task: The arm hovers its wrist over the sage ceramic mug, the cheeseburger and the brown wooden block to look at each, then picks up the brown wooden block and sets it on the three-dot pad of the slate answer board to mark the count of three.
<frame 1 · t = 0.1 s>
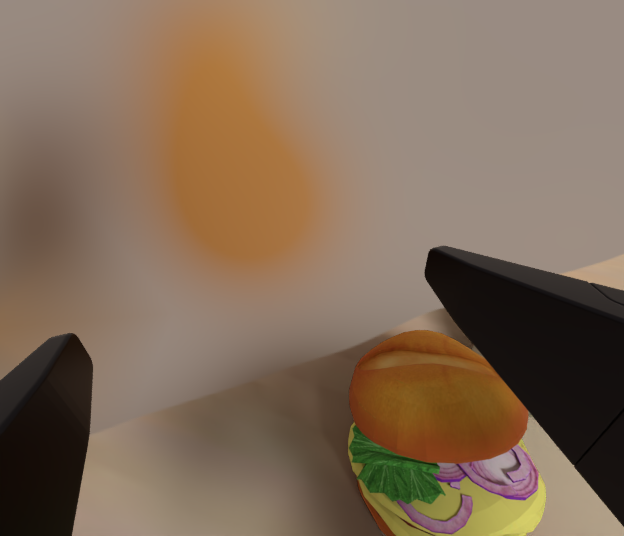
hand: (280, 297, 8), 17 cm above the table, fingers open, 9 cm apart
cheeseburger: (421, 469, 20), on the table
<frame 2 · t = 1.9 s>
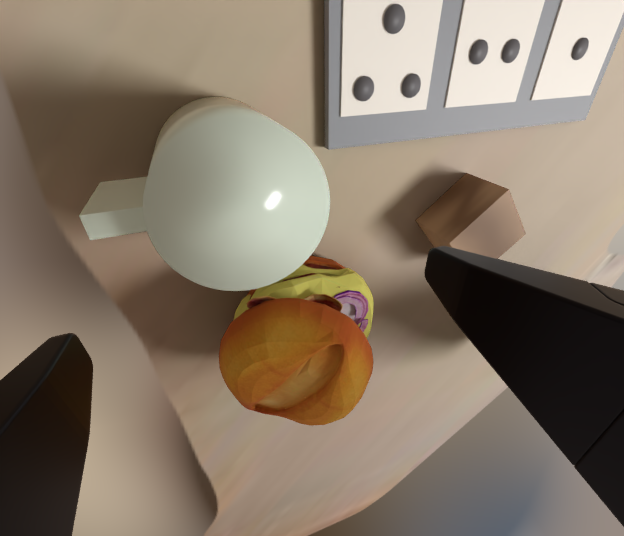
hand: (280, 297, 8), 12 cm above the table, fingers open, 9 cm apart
brown wooden block: (451, 216, 26), on the table
answer board: (485, 52, 19), on the table
mug: (224, 167, 18), on the table
cheeseburger: (290, 304, 25), on the table
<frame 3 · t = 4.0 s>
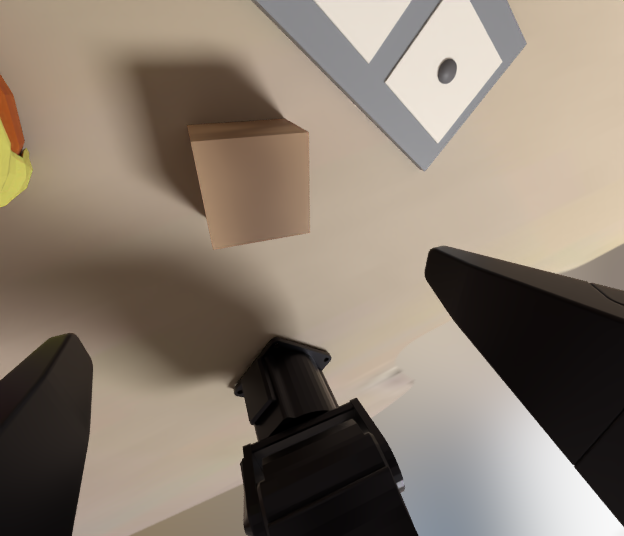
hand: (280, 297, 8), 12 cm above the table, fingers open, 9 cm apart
brown wooden block: (243, 169, 18), on the table
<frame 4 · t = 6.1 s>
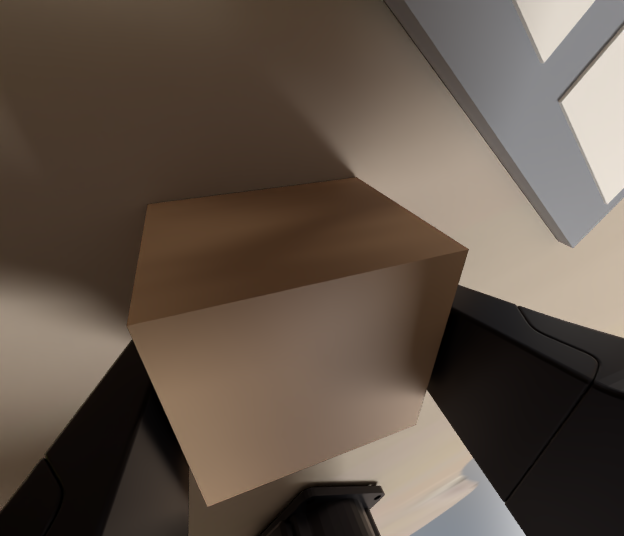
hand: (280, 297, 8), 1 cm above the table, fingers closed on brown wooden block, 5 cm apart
brown wooden block: (270, 275, 9), on the table, touching gripper
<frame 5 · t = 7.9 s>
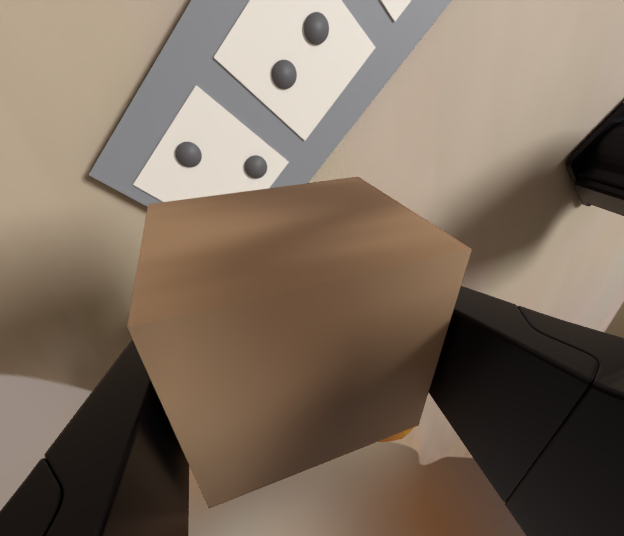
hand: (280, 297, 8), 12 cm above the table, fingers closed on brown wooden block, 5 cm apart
brown wooden block: (271, 275, 9), point 11 cm above the table, touching gripper
answer board: (295, 52, 16), on the table
when the fingers open (3 cm above the table, at t = 9.8 s): brown wooden block drops 1 cm, resting on answer board.
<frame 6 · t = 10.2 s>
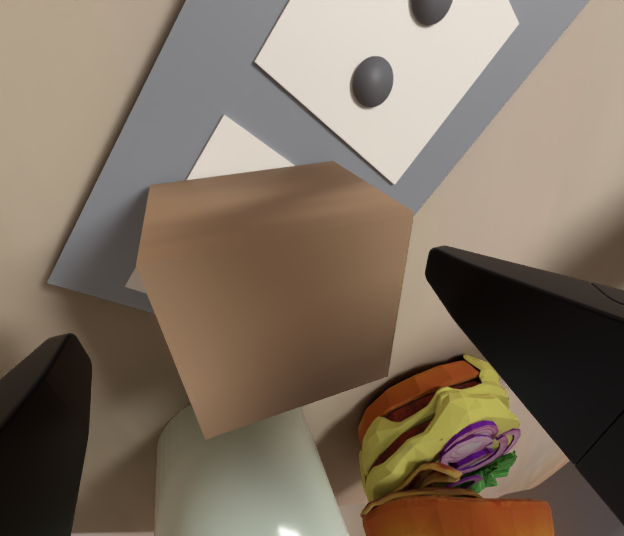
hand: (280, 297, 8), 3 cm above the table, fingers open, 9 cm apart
brown wooden block: (259, 250, 10), point 1 cm above the table, touching answer board
answer board: (386, 41, 9), on the table
mug: (234, 432, 16), on the table
cheeseburger: (407, 406, 21), on the table
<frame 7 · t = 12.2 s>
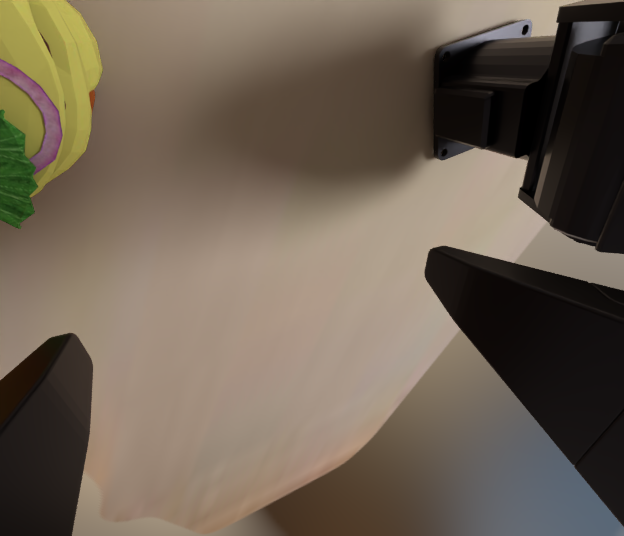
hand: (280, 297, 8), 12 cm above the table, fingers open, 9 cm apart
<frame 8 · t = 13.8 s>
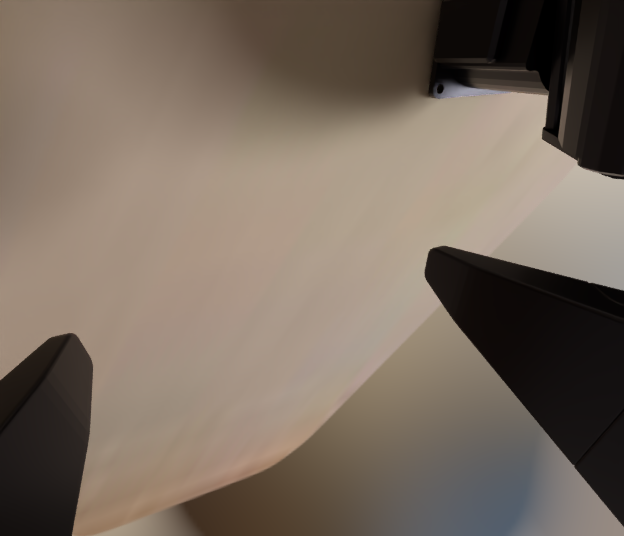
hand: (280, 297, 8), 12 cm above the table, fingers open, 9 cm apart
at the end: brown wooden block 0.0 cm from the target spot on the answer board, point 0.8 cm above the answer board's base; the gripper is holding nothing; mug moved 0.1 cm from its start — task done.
